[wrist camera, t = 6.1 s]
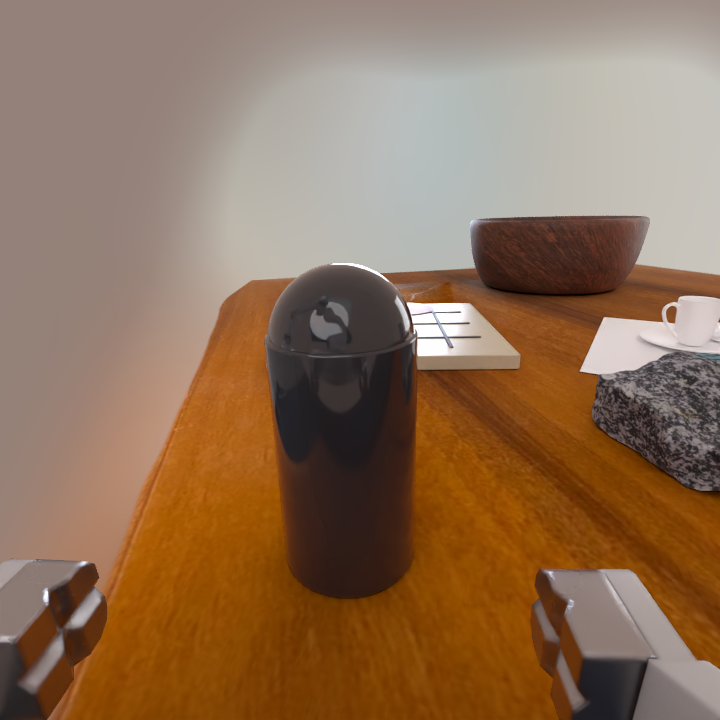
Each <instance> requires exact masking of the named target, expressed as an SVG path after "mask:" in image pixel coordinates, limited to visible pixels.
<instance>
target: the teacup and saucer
mask: <svg viewBox="0 0 720 720" xmlns="http://www.w3.org/2000/svg"><path fill="white" fill-rule="evenodd" d="M670 306H675V307H676V308H677V312H676V320H675V324H674V327H673V326H671V325H670V323H668V321H667V318H666V310H667V309H668V308H669V307H670ZM719 318H720V299H718V298H712V297H703V296H682V297H679V299H678V303H675V302H672V303H669V304H667V305H666V306H664V308H663V310H662V319H663V322H664V323H663V324H664V326H661V327H650V328H645V329H642V330H640V331H639V332H638V336H639V337H640V338H641V339H642V340H644V341H646V342H648V343H650V344H653V345H656V346H660V347H663V348H668V349H672V350H677V351H678V352H680V351H687V352H694V353H707V354H720V322H719V323H718V321H719Z"/></svg>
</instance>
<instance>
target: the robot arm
mask: <svg viewBox="0 0 720 720" xmlns="http://www.w3.org/2000/svg"><path fill="white" fill-rule="evenodd" d="M98 579H99V576H98V573H97V569H96V567H95V564H93V563H90V562H86V561H85V562H84V561H63V560H40V559H37V560H28V559H10V560H7V561H5V562H2V563H0V720H47V719H48V718H49V716H50V715H51V713H52V712H53V710H54V709H55V707H56V706H57V704H58V703H59V701H60V700H61V698H62V696H63V695H64V693H65V692H66V690H67V689H68V687H69V686H70V684H71V683H72V681H73V680H74V666H75V665H76V664H77V663H79V662H80V661H81V660H83V659H84V658H86V657H87V656H88V655H90V654H91V652H92V651H93V649H94V648H95V646H96V644H97V643H98V641H99V640H100V638H101V635H102V633H103V630H104V627H105V624H106V621H107V604H106V600H105V596H104V595H103V594H102V593H101V592H99V591H98V590H97V589H96V588H95V587H94V585H95V584H96V582H97V580H98ZM535 588H536V590H537V593H538V595H539V597H540V598H539V599H538V600H537V601H536V602H535V603H534V604H533V605H532V611H531V630H532V639H533V643H534V647H535V651H536V654H537V657H538V660H539V663H540V666H541V667H542V668H543V669H544V670H545V671H546V672H547V673H548V674H549V675H550V676H551V677H552V678H553V682H552V688H551V694H550V695H551V698H552V700H553V703H554V706H555V709H556V711H557V714H558V717H559V720H720V669H718V668H717V667H715V666H714V665H713V664H711V663H710V662H708V661H700V660H696V658H695V657H694V655H693V654H692V653H691V651H690V650H689V648H688V647H687V646H686V644H685V643H684V641H683V640H682V639H681V637H680V636H679V634H678V633H677V632H676V630H675V629H674V627H673V626H672V625H671V623H670V622H669V620H668V619H667V618H666V616H665V615H664V613H663V612H662V611H661V609H660V608H659V606H658V605H657V604H656V602H655V601H654V599H653V598H652V597H651V595H650V594H649V592H648V591H647V590H646V588H645V587H644V585H643V584H642V583H641V581H640V580H639V578H638V577H637V576H636V574H635V573H633V572H632V571H630V570H629V569H598V570H596V569H539V571H538V573H537V575H536V581H535Z"/></svg>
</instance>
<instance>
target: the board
mask: <svg viewBox="0 0 720 720" xmlns="http://www.w3.org/2000/svg"><path fill="white" fill-rule="evenodd" d="M407 305H408V307H409V310H410V313H411V315H412V319H413V324H414V328H415V329H416V330H417V332H418V364H417V370H464V369H519V366H520V356H521V355H520V354H519V353H518V352H517V351H516V350H515V349H514V348H513V347H512V346H511V345H510V344H509V343H508V342H507V341H506V340H505V339H504V338H503V337H502V336H501V335H500V334H499V333H498V331H497V330H496V329H495V328H494V327H493V326H492V325H491V324H490V323H489V322H488V321H487V320H486V319H485V318H484V317H483V316H482V315H481V314H480V313H479V312H478V311H477V310H476V309H475V308H474V307H473V306H472V305H471V304H470V303H448V304H419V303H407ZM266 366H267V363H266Z"/></svg>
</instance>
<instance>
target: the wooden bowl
mask: <svg viewBox="0 0 720 720" xmlns="http://www.w3.org/2000/svg"><path fill="white" fill-rule="evenodd" d="M649 224H650V219H649V218H648V217H642V216H561V217H560V216H559V217H558V216H556V217H517V218H516V217H515V218H490V219H476V220H473V221H472V222H471V224H470V231H471V245H472V253H473V259H474V263H475V267H476V269H477V272H478V274H479V276H480V278H481V280H482V281H483V282H484V283H485V284H486V285H488V286H490V287H494V288H498V289H503V290H508V291H516V292H525V293H538V294H589V293H599V292H606V291H610V290H613V289H615V288H616V287H618V286H619V285H620V284H621V283H622V282H623V281H624V280H625V278H626V277H627V276H628V274H629V273H630V272H631V270H632V268H633V266H634V265H635V263H636V261H637V258H638V256H639V254H640V251H641V248H642V245H643V243H644V240H645V237H646V234H647V231H648V227H649Z"/></svg>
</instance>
